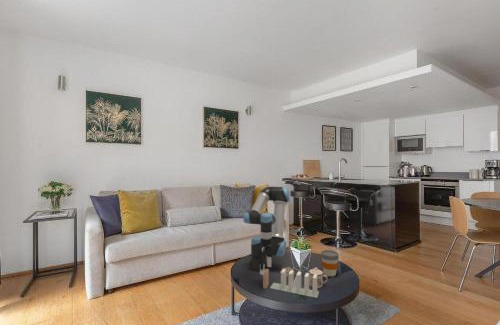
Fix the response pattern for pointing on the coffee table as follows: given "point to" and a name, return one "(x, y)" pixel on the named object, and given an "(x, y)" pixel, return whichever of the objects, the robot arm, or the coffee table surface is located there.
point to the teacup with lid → (319, 277)
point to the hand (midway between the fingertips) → (265, 270)
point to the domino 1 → (266, 278)
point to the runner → (278, 287)
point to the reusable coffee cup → (329, 262)
